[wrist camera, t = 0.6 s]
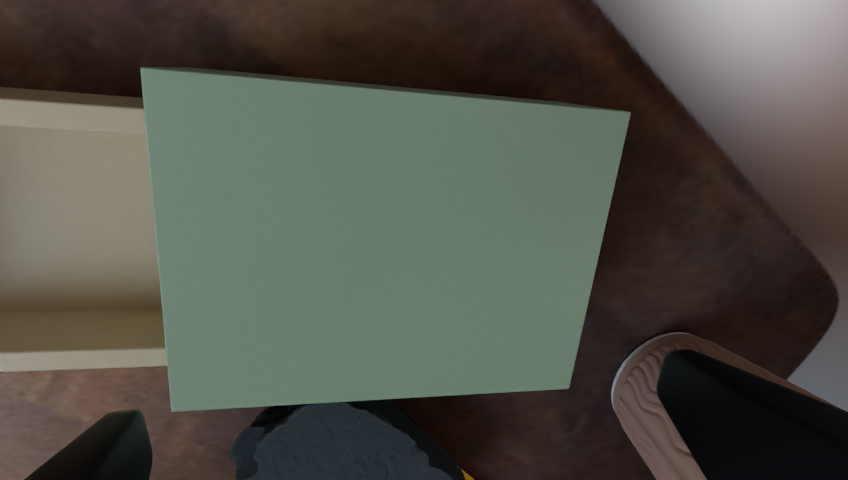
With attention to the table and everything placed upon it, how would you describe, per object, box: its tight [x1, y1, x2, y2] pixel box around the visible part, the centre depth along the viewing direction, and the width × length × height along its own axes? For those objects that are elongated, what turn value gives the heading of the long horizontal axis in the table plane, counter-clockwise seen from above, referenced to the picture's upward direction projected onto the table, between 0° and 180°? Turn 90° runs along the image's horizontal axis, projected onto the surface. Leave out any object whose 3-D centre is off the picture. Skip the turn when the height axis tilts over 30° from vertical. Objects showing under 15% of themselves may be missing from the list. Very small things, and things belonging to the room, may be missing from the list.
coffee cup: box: [611, 332, 840, 480], centre depth 24 cm, size 10×10×12 cm
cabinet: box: [140, 67, 631, 412], centre depth 19 cm, size 15×11×6 cm
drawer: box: [0, 87, 167, 372], centre depth 17 cm, size 16×10×4 cm, turn 84°
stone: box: [229, 399, 466, 480], centre depth 25 cm, size 8×12×3 cm
